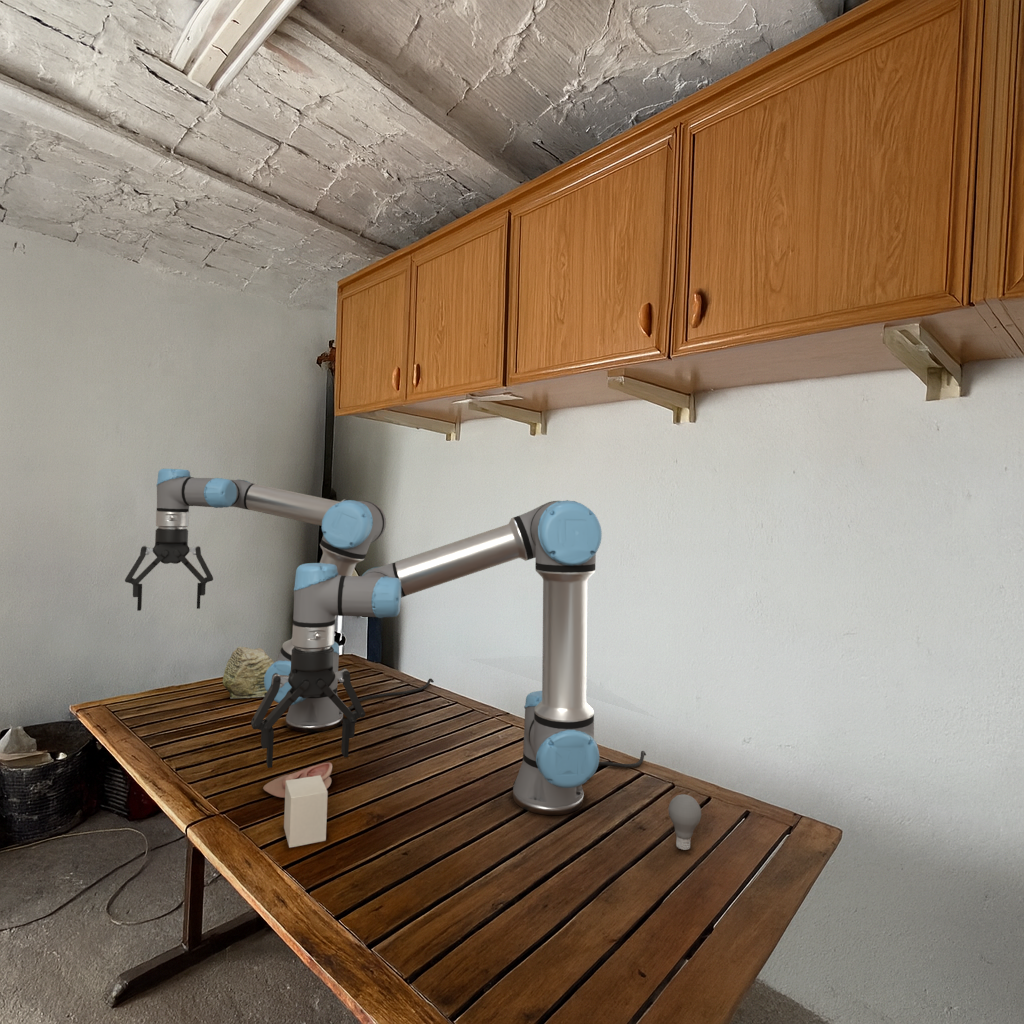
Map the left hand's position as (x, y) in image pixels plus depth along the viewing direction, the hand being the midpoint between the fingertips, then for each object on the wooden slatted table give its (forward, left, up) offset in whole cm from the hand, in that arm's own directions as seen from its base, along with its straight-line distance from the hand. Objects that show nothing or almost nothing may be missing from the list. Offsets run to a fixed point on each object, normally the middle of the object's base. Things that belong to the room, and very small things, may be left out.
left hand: (169, 608), depth 166 cm
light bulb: (-40, +126, -32) cm, 136 cm away
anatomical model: (-5, +53, -32) cm, 62 cm away
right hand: (+5, +71, -18) cm, 73 cm away
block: (+4, +71, -32) cm, 78 cm away
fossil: (-31, -11, -32) cm, 46 cm away
